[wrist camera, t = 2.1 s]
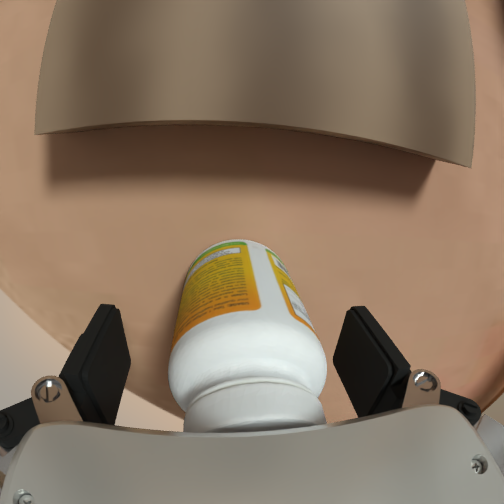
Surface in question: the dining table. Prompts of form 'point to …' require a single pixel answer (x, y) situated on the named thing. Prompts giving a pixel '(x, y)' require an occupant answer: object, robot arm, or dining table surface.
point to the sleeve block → (266, 69)
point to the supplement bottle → (244, 345)
